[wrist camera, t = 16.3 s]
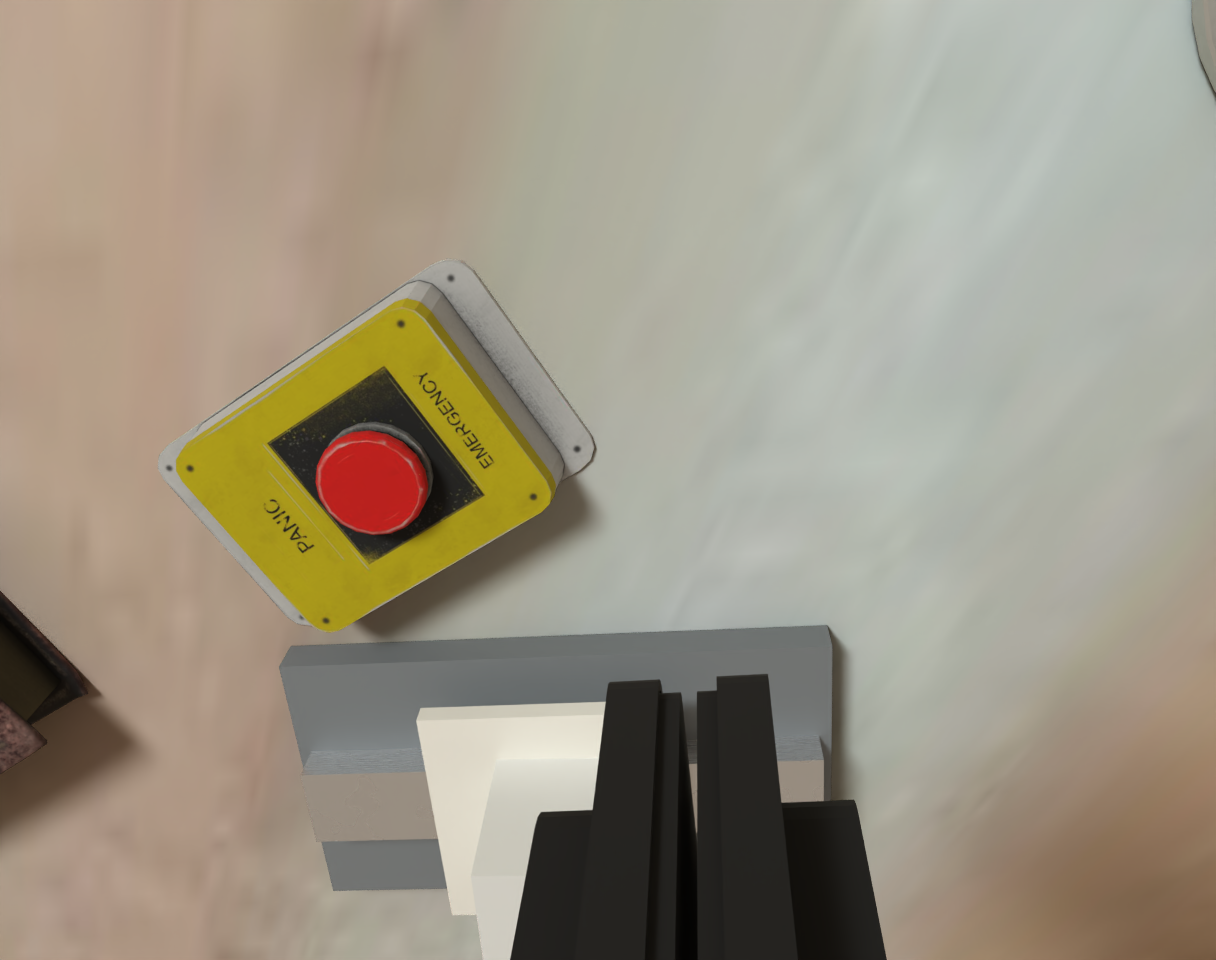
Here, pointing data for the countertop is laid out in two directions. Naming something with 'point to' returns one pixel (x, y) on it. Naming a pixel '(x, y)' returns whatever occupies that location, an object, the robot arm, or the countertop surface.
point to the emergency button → (382, 451)
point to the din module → (519, 837)
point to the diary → (29, 684)
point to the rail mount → (513, 675)
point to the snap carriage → (490, 767)
